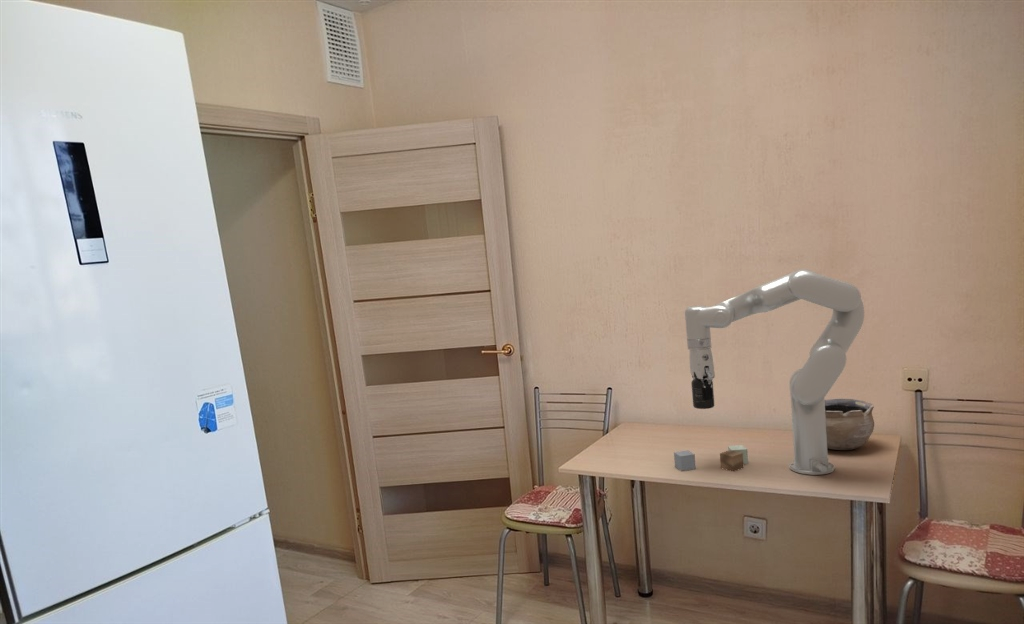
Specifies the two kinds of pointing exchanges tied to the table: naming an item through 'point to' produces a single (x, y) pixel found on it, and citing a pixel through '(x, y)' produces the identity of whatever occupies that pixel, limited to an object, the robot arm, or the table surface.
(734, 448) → the sage cube
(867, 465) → the table surface
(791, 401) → the robot arm
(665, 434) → the table surface
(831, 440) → the ceramic bowl
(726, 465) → the walnut cube
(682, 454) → the slate cube
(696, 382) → the supplement bottle
